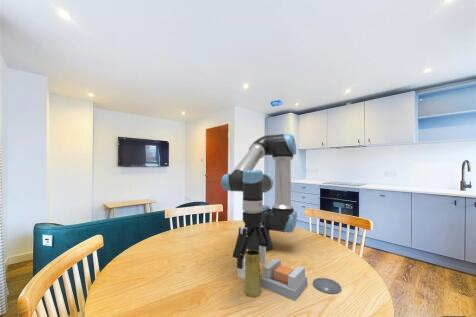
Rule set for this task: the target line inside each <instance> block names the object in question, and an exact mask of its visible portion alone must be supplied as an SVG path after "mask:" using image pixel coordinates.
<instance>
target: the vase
mask: <svg viewBox="0 0 476 317" xmlns="http://www.w3.org/2000/svg"><path fill="white" fill-rule="evenodd" d="M245 262H246V264H245V279H244V294H245V295H246V296H247V297H251V298H256V297H259V296H260V295H261V294H262V287H261V283H260V278H261V263H260V252H259V251H257V250H250V249H247V251H246V253H245Z"/></svg>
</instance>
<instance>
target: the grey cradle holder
mask: <svg viewBox="0 0 476 317" xmlns="http://www.w3.org/2000/svg"><path fill="white" fill-rule="evenodd" d="M280 265H281V259H278V258H273V259H272V260H270V261H269V262H268V263H267V262H266V264H264V265H263V266H262V276H260V283H261V288H263V289H266V290H268V291H271V292H273V293H276V294H277V295H281V296H283V297H286V298H288V299H290V300H292V301H296V300H297V299H298V298H299V296H300V295H301V294H302V293H303V291H304V290H305V289H306V288H307V287H308V277H307V276H306V267H304V266H302V265H297V266H296V267H295V268H293V269H294V270H293V271H292V272H291V273H290V274H289V275H288V285H287V284H284V283H281V282H279V281H276V280H274V270H275V269H276V268H277V267H279V266H280Z"/></svg>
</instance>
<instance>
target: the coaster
mask: <svg viewBox="0 0 476 317" xmlns="http://www.w3.org/2000/svg"><path fill="white" fill-rule="evenodd" d="M312 286H313V288H315V289H316V290H317V291H319V292H321V293H324V294H328V295H336V294H339V293H341V291H342V286H341V285H340V283H338V282H337V281H336V280H334V279H331V278H326V277H318V278H314V279H313V281H312Z"/></svg>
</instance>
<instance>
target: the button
mask: <svg viewBox="0 0 476 317" xmlns="http://www.w3.org/2000/svg"><path fill="white" fill-rule="evenodd" d="M294 269H295V268H291V267H287V266H284V265H282V264H280V266H279V267H277V268H276V269H275V270H274V280H276V281H277V282H280V283H283V284H285V285H288V275H289V274H290V273H291V272H292V271H293V270H294Z"/></svg>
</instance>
